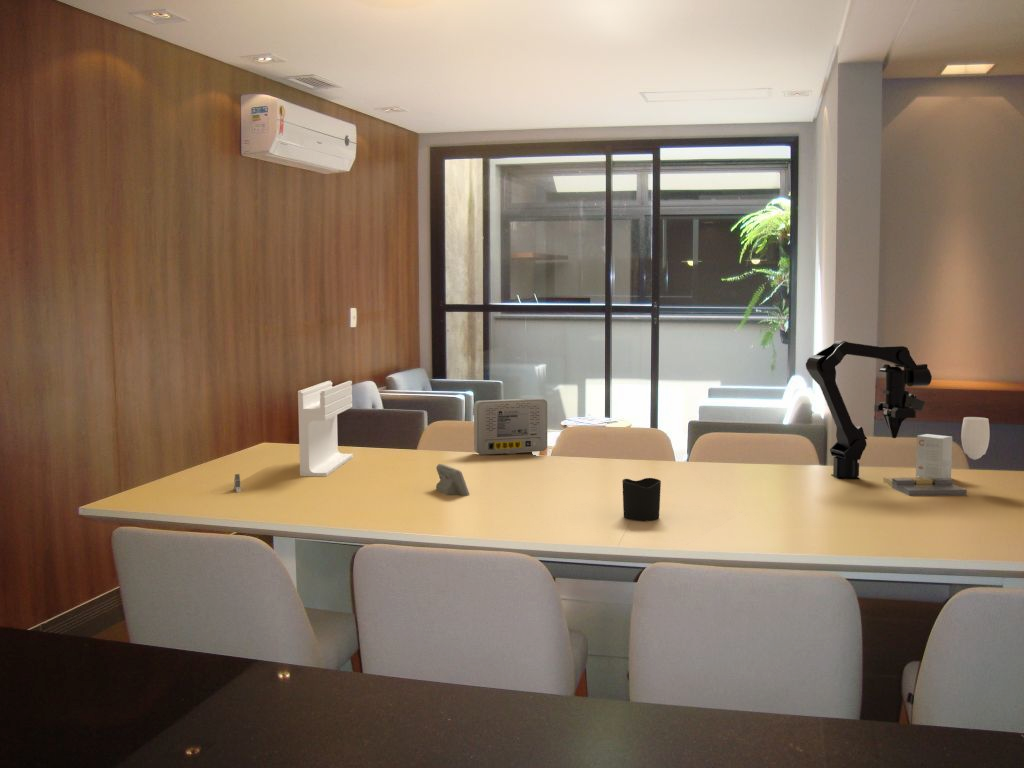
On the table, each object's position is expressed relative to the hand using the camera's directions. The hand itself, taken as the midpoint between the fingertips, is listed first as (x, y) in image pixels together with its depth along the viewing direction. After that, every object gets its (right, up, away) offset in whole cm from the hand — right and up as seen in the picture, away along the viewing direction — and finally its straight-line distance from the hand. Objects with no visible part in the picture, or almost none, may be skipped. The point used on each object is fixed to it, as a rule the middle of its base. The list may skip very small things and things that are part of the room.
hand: (894, 437), depth 289 cm
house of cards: (-194, -16, -28) cm, 197 cm away
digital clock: (-133, -16, -27) cm, 137 cm away
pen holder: (-84, -18, -53) cm, 101 cm away
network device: (-117, -9, +40) cm, 124 cm away
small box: (+11, -12, -1) cm, 17 cm away
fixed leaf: (0, -14, -23) cm, 27 cm away
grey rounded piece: (+14, -14, -20) cm, 28 cm away
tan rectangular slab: (0, -14, -15) cm, 20 cm away
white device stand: (-175, -12, +12) cm, 175 cm away
